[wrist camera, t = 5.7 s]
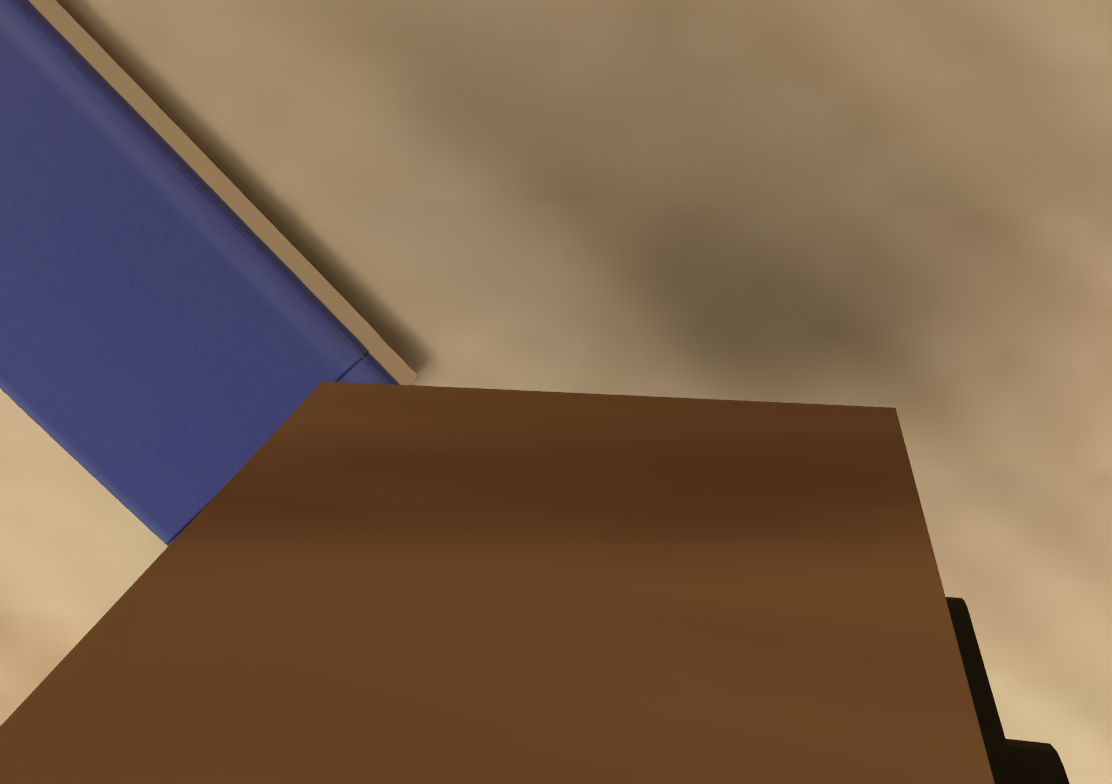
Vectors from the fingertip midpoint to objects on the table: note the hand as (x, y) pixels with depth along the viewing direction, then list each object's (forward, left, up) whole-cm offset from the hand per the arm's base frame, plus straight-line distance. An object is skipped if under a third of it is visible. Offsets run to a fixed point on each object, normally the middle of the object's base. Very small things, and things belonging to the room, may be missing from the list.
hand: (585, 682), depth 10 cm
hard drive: (0, -13, -11) cm, 17 cm away
